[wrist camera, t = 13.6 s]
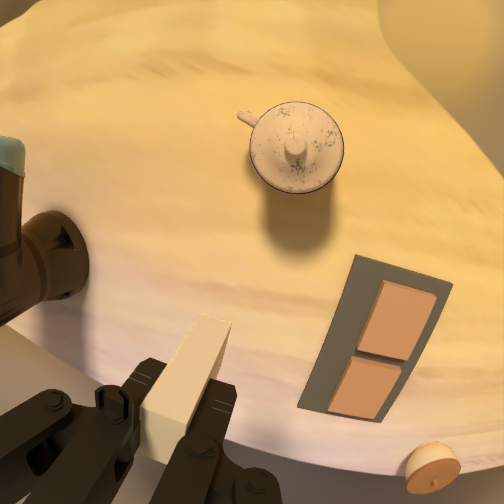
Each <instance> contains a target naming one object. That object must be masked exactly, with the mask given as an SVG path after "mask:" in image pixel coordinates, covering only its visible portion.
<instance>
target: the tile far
mask: <svg viewBox="0 0 504 504" xmlns="http://www.w3.org/2000/svg"><path fill="white" fill-rule="evenodd" d="M401 372H402V371H401V369H400V366H396V365H391V364H386V363H381V362H377V361H372V360H367V359H363V358H358V357H354V356H351V358H350V360H349V362H348V364H347V366H346V368H345V370H344V373H343V375H342V377H341V379H340V381H339V383H338V385H337V387H336V389H335V391H334V393H333V395H332V397H331V399H330V401H329V403H328V405H327V411H330V412H335V413H340V414H346V415H351V416H357V417H363V418H369V419H374V417H375V416H376V414H377V413H378V411H379V410H380V408H381V406H382V405H383V403H384V401H385V400H386V398H387V396H388V395H389V393H390V391H391V390H392V388H393V386H394V384H395V383H396V381H397V379H398V377H399V375H400V374H401Z"/></svg>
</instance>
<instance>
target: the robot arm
mask: <svg viewBox="0 0 504 504" xmlns="http://www.w3.org/2000/svg"><path fill="white" fill-rule="evenodd" d="M24 167H25V146H24V144H23V143H22V142H21V141H20V140H19V139H16V138H11V137H6V136H0V327H1V326H3V325H5V324H6V323H8V322H9V321H11V320H12V319H14V318H15V317H17V316H19V315H20V314H22V313H23V312H25V311H27V310H28V309H30V308H31V307H33V306H34V305H36V304H38V303H40V302H43V301H53V300H62V299H66V298H69V297H71V296H72V295H74V294H75V293H77V292H78V291H80V290H81V288H82V287H83V286H84V284H85V282H86V279H87V275H88V267H89V263H88V254H87V249H86V245H85V242H84V240H83V237H82V235H81V233H80V231H79V230H78V228H77V227H76V225H75V224H74V223H73V221H72V220H71V219H70V218H68V217H67V216H66V215H64V214H63V213H60V212H58V211H47V212H43V213H40V214H37V215H35V216H34V217H32V218H31V219H30V220H29V221H28V222H27V223H25V224H24V225H23V226H22V227H21V217H22V196H23V184H24V177H25V173H24ZM231 325H232V323H230V322H227V321H223V320H220V319H217V318H214V317H211V316H208V315H204V314H200V316H199V317H198V319H197V320H196V322H195V323H194V325H193V326H192V328H191V329H190V331H189V332H188V334H187V335H186V337H185V338H184V340H183V341H182V343H181V344H180V346H179V347H178V349H177V350H176V352H175V353H174V355H173V356H172V358H171V360H170V361H169V363H168V364H166V363H163V362H161V361H158V360H156V359H153V358H148V359H146V360H144V361H142V362H140V363H139V365H138V366H137V367H136V369H135V370H134V372H132V374H131V375H130V376H129V378H128V379H127V380H126V381H125V383H124V384H123V385H122V387H120V386H116V385H105V386H102V387H99V388H98V389H96V390H95V401H96V407H86V406H81V405H77V404H73V403H72V402H71V399H70V398H69V396H68V395H67V394H65V393H64V392H62V391H60V390H56V389H48V390H45V391H42V392H40V393H39V394H37V395H35V396H34V397H32V398H30V399H29V400H27V401H25V402H23V403H22V404H20V405H18V406H17V407H15V408H13V409H11V410H10V411H8V412H6V413H5V414H3V415H2V416H0V504H15V503H17V502H18V501H19V500H21V499H22V498H23V497H25V496H26V495H28V494H29V493H30V492H31V493H30V494H29V496H28V497H27V498H26V500H25V501H24V502H23V504H111V503H112V501H113V499H114V497H115V495H116V494H117V492H118V490H119V488H120V486H121V484H122V483H123V481H124V479H125V477H126V476H127V474H128V472H129V470H130V468H131V467H132V465H133V460H134V454H135V452H136V451H137V449H138V447H139V453H140V454H142V455H144V456H146V457H149V458H151V459H154V460H156V461H159V462H161V463H164V464H167V466H166V468H165V471H164V473H163V475H162V477H161V479H160V481H159V484H158V485H157V488H156V490H155V492H154V494H153V496H152V499H151V500H150V503H149V504H282V499H281V493H280V487H279V483H278V481H277V478H276V477H274V475H273V474H272V473H270V472H268V471H266V470H265V469H261V468H256V467H255V468H247V469H243V468H242V467H240V466H238V465H236V464H235V463H233V462H232V461H231V460H230V459H229V458H228V457H227V456H226V454H225V453H224V450H223V441H224V437H225V434H226V431H227V428H228V424H229V421H230V418H231V415H232V411H233V408H234V405H235V401H236V398H237V393H236V389H235V386H234V385H231V384H227V383H224V382H221V381H218V380H215V379H216V377H217V374H218V372H219V370H220V367H221V363H222V359H223V355H224V352H225V348H226V344H227V340H228V336H229V332H230V329H231Z"/></svg>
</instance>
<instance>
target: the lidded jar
mask: <svg viewBox="0 0 504 504" xmlns="http://www.w3.org/2000/svg"><path fill="white" fill-rule="evenodd" d="M460 470H461V466H460V463H459V461H458V459H457V457H456V455H455V453H454V451H453V450H452V449H451V448H450V447H449V446H448V445H446V444H443V443H439V442H436V441H431V442H427V443H424V444H422V445H420V446H419V447H418V448H416V449H415V450H414V452H413V454H412V455H411V457H410V458H409V460H408V462H407V465H406V470H405V477H406V488H407V490H408V491H409V492H410V493H413V494H426V493H430V492H433V491H436V490H438V489H441V488H442V487H444V486H446V485H448V484H449V483H450V482H452V481H453V480H454V479H455V478H456V477H457V476H458V474H459V472H460Z"/></svg>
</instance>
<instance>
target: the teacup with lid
mask: <svg viewBox="0 0 504 504" xmlns="http://www.w3.org/2000/svg"><path fill="white" fill-rule="evenodd" d="M237 118H238V119H239V120H241V121H243V122H244V123H246V124H248V125H249V126H251V127H253V128H254V129H253V131H252V134H251V138H250V156H251V160H252V163H253V165H254V167H255V169H256V171H257V173H258V174H259V175H260V177H261V178H262V179H263V180H264V181H265V182H266V183H267V184H269V185H270V186H272V187H273V188H275V189H277V190H279V191H282V192H285V193H290V194H306V193H310V192H313V191H316V190H318V189H320V188H322V187H324V186H325V185H326V184H328V183H329V182H330V181H331V180H332V179H333V178H334V177H335V175H336V174H337V172H338V171H339V169H340V167H341V164H342V161H343V156H344V142H343V137H342V134H341V131H340V129H339V127H338V125H337V124H336V122H335V121H334V120H333V118H332V117H331V116H330V115H329V114H328V113H326V112H325V111H324V110H322V109H321V108H319V107H317V106H315V105H312V104H309V103H304V102H287V103H283V104H280V105H277V106H275V107H273V108H272V109H270V110H268V111H267V112H266V113H265V114H264V115H263V116H262V117H261V118H260V117H258V116H256V115H254V114H253V113H251V112H249V111H247V110H245V109H241V110H240V111H239V112H238V114H237Z"/></svg>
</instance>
